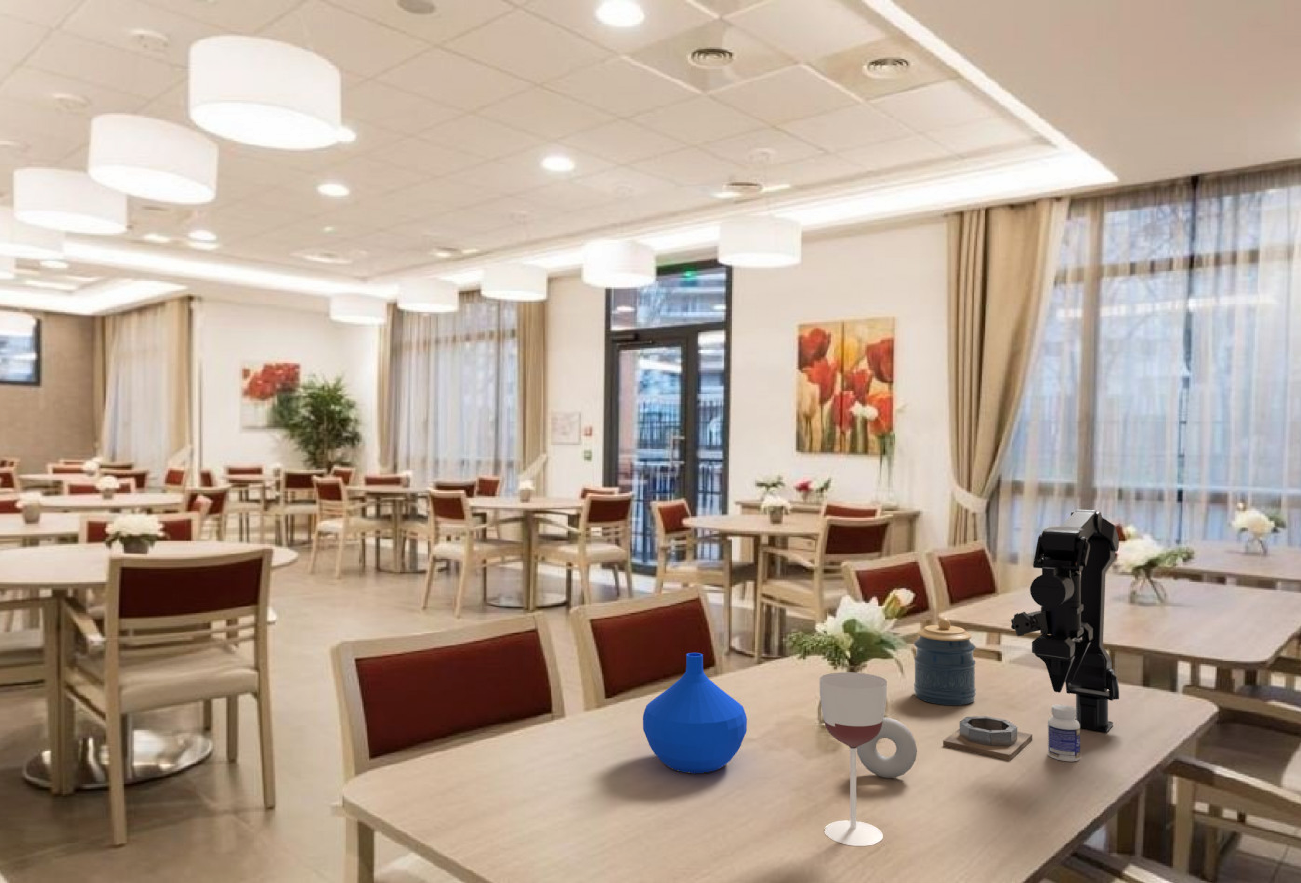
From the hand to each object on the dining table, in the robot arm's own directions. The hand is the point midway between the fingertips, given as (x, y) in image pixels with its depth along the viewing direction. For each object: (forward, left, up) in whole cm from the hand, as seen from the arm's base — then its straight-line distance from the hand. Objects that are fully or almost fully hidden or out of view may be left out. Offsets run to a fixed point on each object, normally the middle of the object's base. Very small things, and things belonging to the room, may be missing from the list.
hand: (1063, 685), depth 156 cm
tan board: (+1, -13, -13) cm, 18 cm away
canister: (-23, -30, -13) cm, 40 cm away
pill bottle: (0, 0, -13) cm, 13 cm away
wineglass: (+52, -16, -13) cm, 56 cm away
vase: (+44, -50, -13) cm, 68 cm away
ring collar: (+1, -13, -13) cm, 18 cm away
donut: (+29, -21, -13) cm, 38 cm away
